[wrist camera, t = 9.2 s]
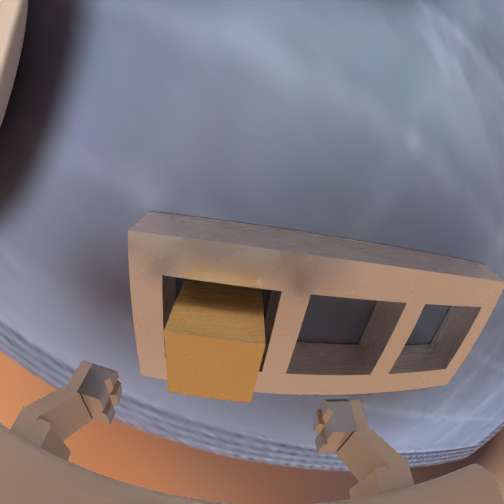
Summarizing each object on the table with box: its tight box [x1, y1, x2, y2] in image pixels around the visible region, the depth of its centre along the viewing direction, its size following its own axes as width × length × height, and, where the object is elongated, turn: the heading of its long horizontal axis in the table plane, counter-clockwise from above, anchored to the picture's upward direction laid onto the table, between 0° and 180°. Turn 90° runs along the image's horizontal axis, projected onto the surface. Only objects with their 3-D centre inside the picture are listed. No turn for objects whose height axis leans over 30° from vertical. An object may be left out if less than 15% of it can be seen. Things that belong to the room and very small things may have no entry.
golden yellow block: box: [164, 279, 265, 402], centre depth 14 cm, size 4×4×6 cm
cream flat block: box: [128, 211, 504, 395], centre depth 16 cm, size 23×10×3 cm, turn 82°
